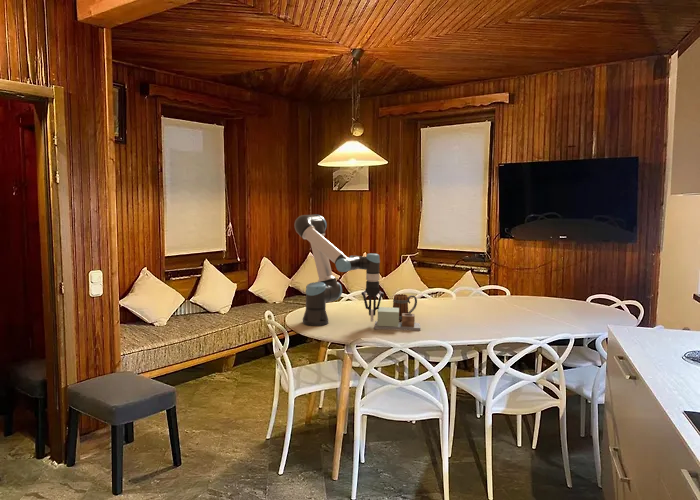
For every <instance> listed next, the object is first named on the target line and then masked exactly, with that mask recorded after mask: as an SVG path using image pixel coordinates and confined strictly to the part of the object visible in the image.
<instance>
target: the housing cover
mask: <svg viewBox="0 0 700 500" xmlns="http://www.w3.org/2000/svg"><path fill="white" fill-rule="evenodd" d="M376 321H377V326H393V327H399V322H400V321H399V308H393V307H390V306H389V307H385V306H384V307H383V306H379V309H377V320H376Z"/></svg>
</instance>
